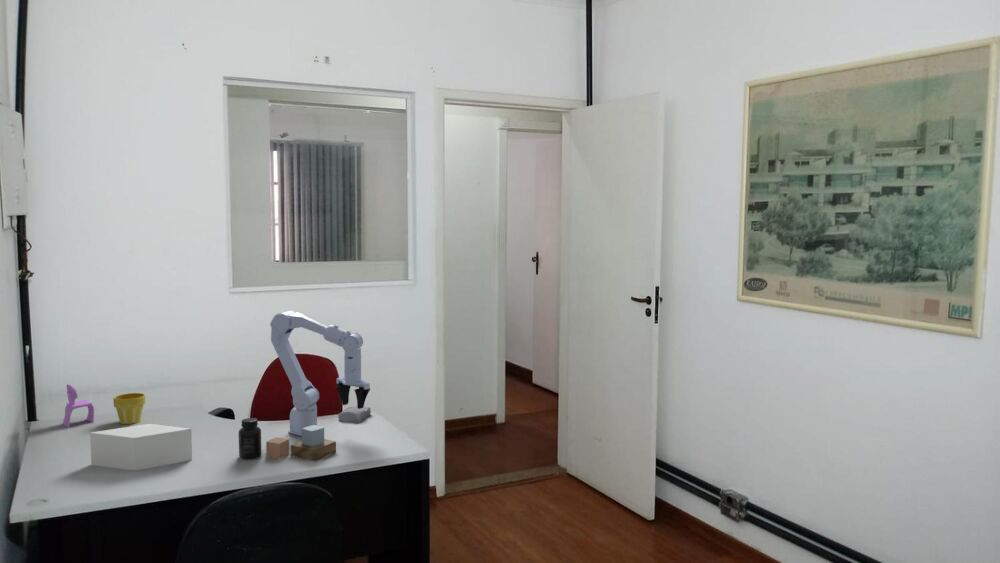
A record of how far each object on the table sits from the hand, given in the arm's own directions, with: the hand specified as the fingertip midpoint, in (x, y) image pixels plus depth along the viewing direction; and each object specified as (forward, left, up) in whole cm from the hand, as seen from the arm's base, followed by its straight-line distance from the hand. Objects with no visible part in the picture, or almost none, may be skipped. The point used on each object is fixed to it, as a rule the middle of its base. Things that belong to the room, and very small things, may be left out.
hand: (352, 406), depth 245 cm
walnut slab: (+4, -21, -11) cm, 24 cm away
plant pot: (-77, -38, -11) cm, 87 cm away
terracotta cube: (-4, -29, -10) cm, 31 cm away
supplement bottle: (-10, -35, -11) cm, 38 cm away
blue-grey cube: (+4, -21, -7) cm, 23 cm away
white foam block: (-32, -58, -11) cm, 67 cm away
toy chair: (-90, -50, -11) cm, 104 cm away
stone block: (-16, +16, -11) cm, 25 cm away
